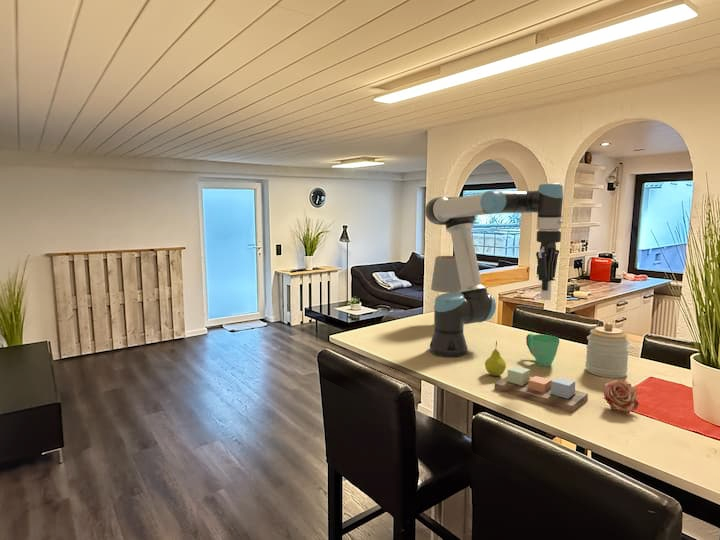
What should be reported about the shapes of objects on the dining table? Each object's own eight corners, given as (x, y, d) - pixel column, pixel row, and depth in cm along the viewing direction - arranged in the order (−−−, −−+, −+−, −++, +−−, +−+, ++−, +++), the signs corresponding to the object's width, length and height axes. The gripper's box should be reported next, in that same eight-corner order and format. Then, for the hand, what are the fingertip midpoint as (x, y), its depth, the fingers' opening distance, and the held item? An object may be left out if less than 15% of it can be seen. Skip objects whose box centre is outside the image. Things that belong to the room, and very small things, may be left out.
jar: (622, 367, 160) (625, 320, 158) (631, 380, 148) (635, 329, 146) (582, 364, 164) (585, 317, 162) (588, 376, 152) (591, 326, 150)
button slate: (550, 394, 133) (551, 381, 132) (557, 389, 136) (558, 376, 136) (568, 398, 129) (568, 385, 129) (574, 393, 133) (575, 381, 132)
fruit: (502, 380, 150) (503, 345, 148) (482, 376, 153) (483, 342, 152) (507, 374, 155) (508, 340, 154) (487, 370, 159) (488, 338, 157)
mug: (564, 367, 162) (565, 340, 160) (541, 370, 159) (542, 342, 158) (537, 354, 176) (538, 330, 174) (516, 357, 173) (517, 332, 171)
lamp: (430, 328, 217) (431, 259, 212) (430, 319, 235) (431, 255, 231) (470, 329, 214) (471, 259, 209) (467, 320, 232) (468, 255, 228)
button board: (494, 389, 142) (494, 383, 142) (512, 379, 151) (512, 373, 150) (571, 412, 125) (572, 405, 125) (587, 399, 133) (587, 393, 133)
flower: (591, 395, 133) (598, 380, 127) (620, 388, 133) (628, 373, 128) (611, 424, 126) (618, 410, 120) (641, 417, 126) (650, 402, 121)
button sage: (507, 381, 143) (507, 369, 142) (514, 377, 146) (515, 365, 146) (522, 385, 139) (522, 373, 139) (529, 381, 143) (529, 369, 142)
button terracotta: (528, 392, 138) (528, 380, 137) (535, 387, 141) (535, 375, 141) (544, 397, 134) (544, 384, 134) (551, 392, 138) (551, 379, 137)
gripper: (551, 231, 142) (548, 303, 145) (568, 229, 151) (564, 298, 154) (529, 230, 147) (526, 300, 150) (546, 229, 156) (543, 295, 159)
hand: (545, 299), depth 152 cm, fingers closed
